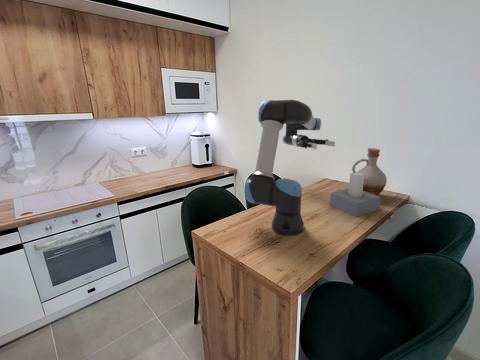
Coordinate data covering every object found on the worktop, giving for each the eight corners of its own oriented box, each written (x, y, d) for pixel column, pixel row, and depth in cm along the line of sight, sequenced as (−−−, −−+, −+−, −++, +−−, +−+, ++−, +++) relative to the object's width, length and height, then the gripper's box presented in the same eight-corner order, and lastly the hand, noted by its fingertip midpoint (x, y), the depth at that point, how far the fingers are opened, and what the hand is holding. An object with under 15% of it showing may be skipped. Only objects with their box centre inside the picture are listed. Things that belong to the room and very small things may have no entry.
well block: (356, 216, 130) (357, 203, 128) (329, 205, 145) (330, 192, 143) (378, 209, 138) (380, 196, 135) (351, 199, 153) (352, 187, 151)
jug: (349, 199, 153) (354, 150, 144) (349, 190, 169) (354, 145, 160) (385, 203, 146) (393, 152, 137) (382, 193, 161) (389, 147, 153)
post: (354, 207, 138) (358, 175, 133) (347, 204, 142) (350, 173, 137) (360, 205, 140) (364, 174, 135) (353, 202, 144) (356, 172, 139)
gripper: (315, 144, 166) (340, 149, 148) (284, 148, 155) (308, 154, 137) (315, 133, 164) (341, 136, 145) (284, 136, 153) (308, 140, 135)
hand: (325, 145), depth 141 cm, fingers open, 13 cm apart
